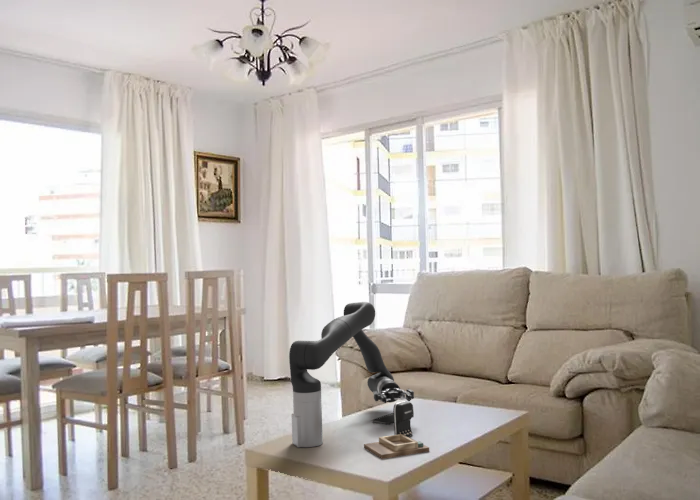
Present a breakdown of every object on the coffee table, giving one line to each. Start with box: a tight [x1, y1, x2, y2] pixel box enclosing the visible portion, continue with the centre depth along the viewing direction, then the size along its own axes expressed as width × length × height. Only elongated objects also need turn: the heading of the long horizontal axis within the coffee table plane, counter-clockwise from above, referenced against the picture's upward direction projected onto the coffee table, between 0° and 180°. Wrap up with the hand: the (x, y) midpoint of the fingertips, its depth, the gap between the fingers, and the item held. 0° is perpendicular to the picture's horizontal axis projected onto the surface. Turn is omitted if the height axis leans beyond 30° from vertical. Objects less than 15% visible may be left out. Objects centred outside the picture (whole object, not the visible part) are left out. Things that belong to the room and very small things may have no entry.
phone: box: [371, 412, 394, 426], centre depth 232 cm, size 8×1×15 cm
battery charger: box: [392, 400, 415, 438], centre depth 208 cm, size 7×4×11 cm, turn 135°
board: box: [363, 434, 430, 460], centre depth 193 cm, size 16×13×3 cm
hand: (397, 399), depth 219 cm, fingers open, 8 cm apart
